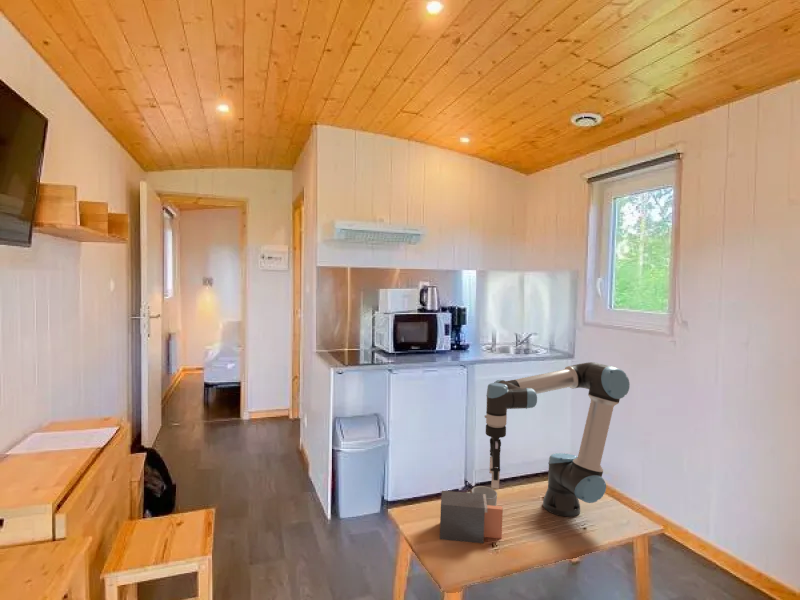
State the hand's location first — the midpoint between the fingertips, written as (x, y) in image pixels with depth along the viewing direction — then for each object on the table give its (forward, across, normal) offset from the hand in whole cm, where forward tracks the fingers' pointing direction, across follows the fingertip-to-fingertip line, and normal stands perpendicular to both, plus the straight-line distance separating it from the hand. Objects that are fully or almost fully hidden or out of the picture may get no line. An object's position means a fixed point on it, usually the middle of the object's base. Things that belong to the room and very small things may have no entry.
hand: (494, 480), depth 175 cm
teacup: (+21, -19, -4) cm, 29 cm away
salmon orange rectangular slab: (+21, +1, -3) cm, 21 cm away
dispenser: (+21, +1, -12) cm, 24 cm away
